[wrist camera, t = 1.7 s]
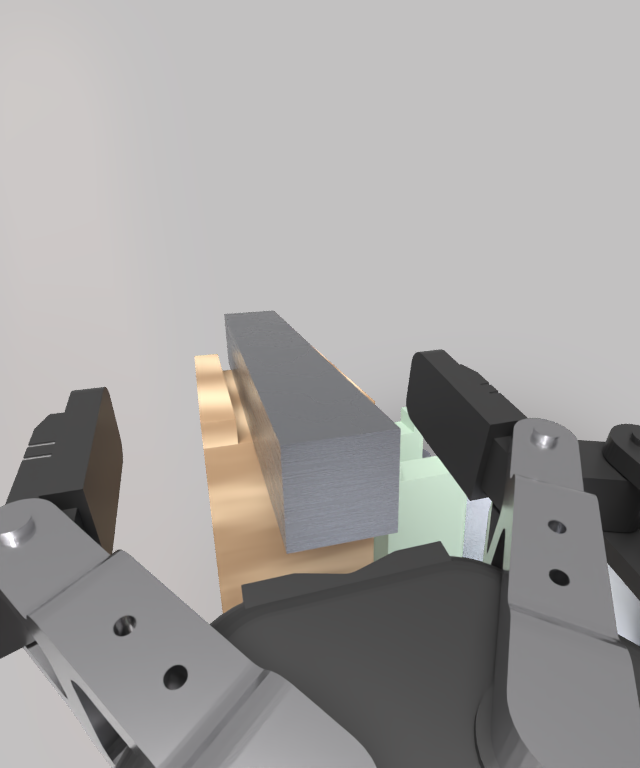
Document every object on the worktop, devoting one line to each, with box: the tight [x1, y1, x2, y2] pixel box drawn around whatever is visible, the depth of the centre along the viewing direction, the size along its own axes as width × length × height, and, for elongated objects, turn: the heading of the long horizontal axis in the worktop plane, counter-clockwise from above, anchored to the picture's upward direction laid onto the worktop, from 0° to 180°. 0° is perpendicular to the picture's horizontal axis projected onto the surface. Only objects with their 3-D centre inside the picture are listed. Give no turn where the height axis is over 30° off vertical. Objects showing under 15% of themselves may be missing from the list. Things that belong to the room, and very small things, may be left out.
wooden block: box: [195, 345, 375, 613], centre depth 32 cm, size 12×8×33 cm, turn 15°
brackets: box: [374, 407, 467, 561], centre depth 46 cm, size 13×8×24 cm, turn 15°
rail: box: [224, 311, 401, 554], centre depth 24 cm, size 22×4×4 cm, turn 15°
